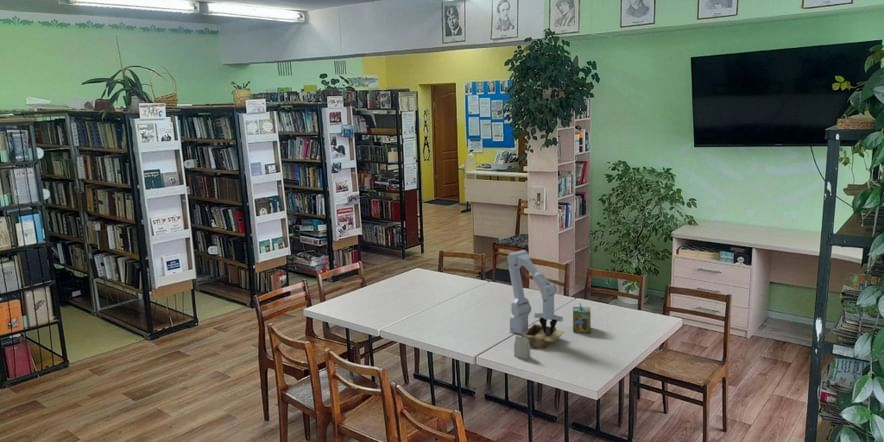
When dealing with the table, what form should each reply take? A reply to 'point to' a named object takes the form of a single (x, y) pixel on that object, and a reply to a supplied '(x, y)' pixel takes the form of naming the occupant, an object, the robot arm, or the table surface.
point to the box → (535, 337)
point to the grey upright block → (522, 347)
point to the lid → (549, 334)
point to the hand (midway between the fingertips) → (548, 332)
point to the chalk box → (581, 319)
